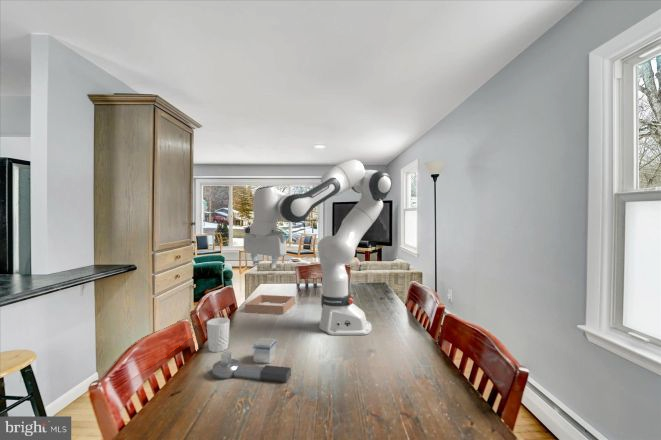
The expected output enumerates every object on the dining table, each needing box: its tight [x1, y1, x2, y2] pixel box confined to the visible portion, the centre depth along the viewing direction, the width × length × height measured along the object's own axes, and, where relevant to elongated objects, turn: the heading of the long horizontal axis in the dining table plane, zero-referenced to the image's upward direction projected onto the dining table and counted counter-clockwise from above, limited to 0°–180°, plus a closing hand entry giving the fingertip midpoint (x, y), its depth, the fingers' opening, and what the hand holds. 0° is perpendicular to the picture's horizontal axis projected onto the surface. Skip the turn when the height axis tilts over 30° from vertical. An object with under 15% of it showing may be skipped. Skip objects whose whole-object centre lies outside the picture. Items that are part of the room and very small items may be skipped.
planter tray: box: [244, 294, 296, 315], centre depth 166 cm, size 20×19×4 cm
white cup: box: [206, 317, 231, 353], centre depth 116 cm, size 8×8×10 cm
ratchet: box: [211, 351, 292, 384], centre depth 96 cm, size 24×8×6 cm, turn 79°
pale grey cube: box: [252, 337, 277, 364], centre depth 107 cm, size 6×6×6 cm
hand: (264, 266), depth 119 cm, fingers open, 8 cm apart
